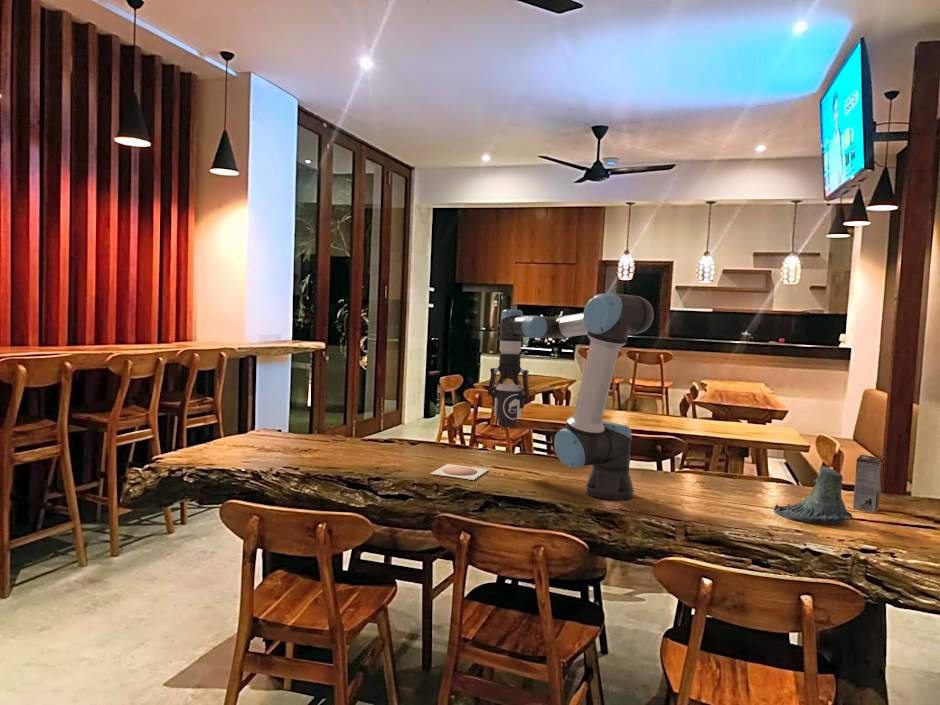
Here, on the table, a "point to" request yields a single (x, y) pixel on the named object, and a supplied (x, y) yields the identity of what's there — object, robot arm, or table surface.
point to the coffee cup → (507, 403)
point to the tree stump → (819, 501)
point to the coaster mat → (460, 471)
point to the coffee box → (868, 483)
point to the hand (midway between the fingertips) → (507, 416)
